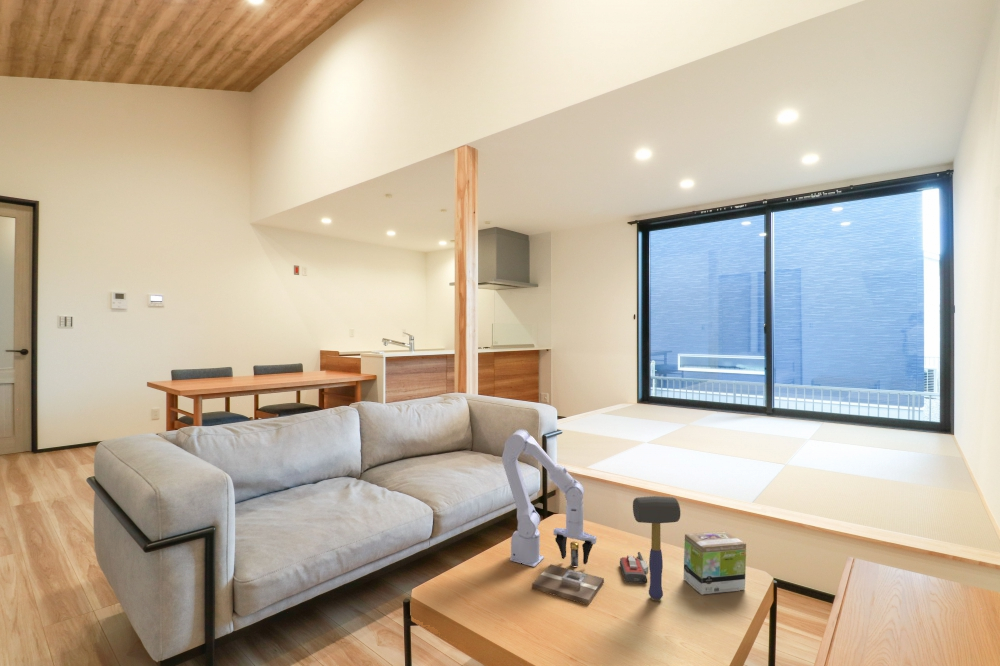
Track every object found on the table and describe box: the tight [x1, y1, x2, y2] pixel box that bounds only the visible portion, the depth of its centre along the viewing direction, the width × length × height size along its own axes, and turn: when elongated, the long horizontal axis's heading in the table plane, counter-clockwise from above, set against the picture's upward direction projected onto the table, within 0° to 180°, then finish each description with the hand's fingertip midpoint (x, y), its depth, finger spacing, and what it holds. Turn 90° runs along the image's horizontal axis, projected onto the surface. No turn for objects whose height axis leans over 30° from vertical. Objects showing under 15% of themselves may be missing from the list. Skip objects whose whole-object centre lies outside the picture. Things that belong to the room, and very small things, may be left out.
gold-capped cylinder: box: [569, 541, 580, 567], centre depth 163 cm, size 3×3×8 cm
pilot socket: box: [562, 569, 588, 590], centre depth 149 cm, size 6×6×2 cm
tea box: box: [683, 530, 747, 596], centre depth 151 cm, size 15×10×15 cm, turn 102°
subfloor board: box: [531, 564, 605, 606], centre depth 150 cm, size 18×14×2 cm
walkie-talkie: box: [619, 551, 649, 584], centre depth 161 cm, size 9×4×20 cm
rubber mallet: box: [632, 495, 681, 602], centre depth 143 cm, size 12×8×30 cm, turn 91°
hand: (574, 560), depth 163 cm, fingers open, 7 cm apart
